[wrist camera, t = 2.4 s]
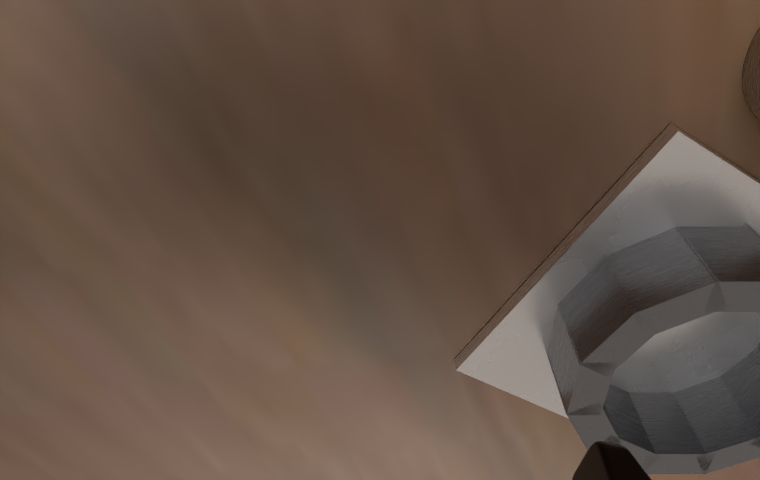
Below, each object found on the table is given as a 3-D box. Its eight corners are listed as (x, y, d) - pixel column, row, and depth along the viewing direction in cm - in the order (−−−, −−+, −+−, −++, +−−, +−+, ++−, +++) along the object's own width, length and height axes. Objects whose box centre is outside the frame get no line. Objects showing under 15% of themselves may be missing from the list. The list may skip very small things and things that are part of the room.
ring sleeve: (667, 451, 29) (701, 524, 26) (454, 359, 25) (465, 431, 22) (903, 274, 23) (982, 342, 20) (670, 122, 20) (723, 178, 17)
